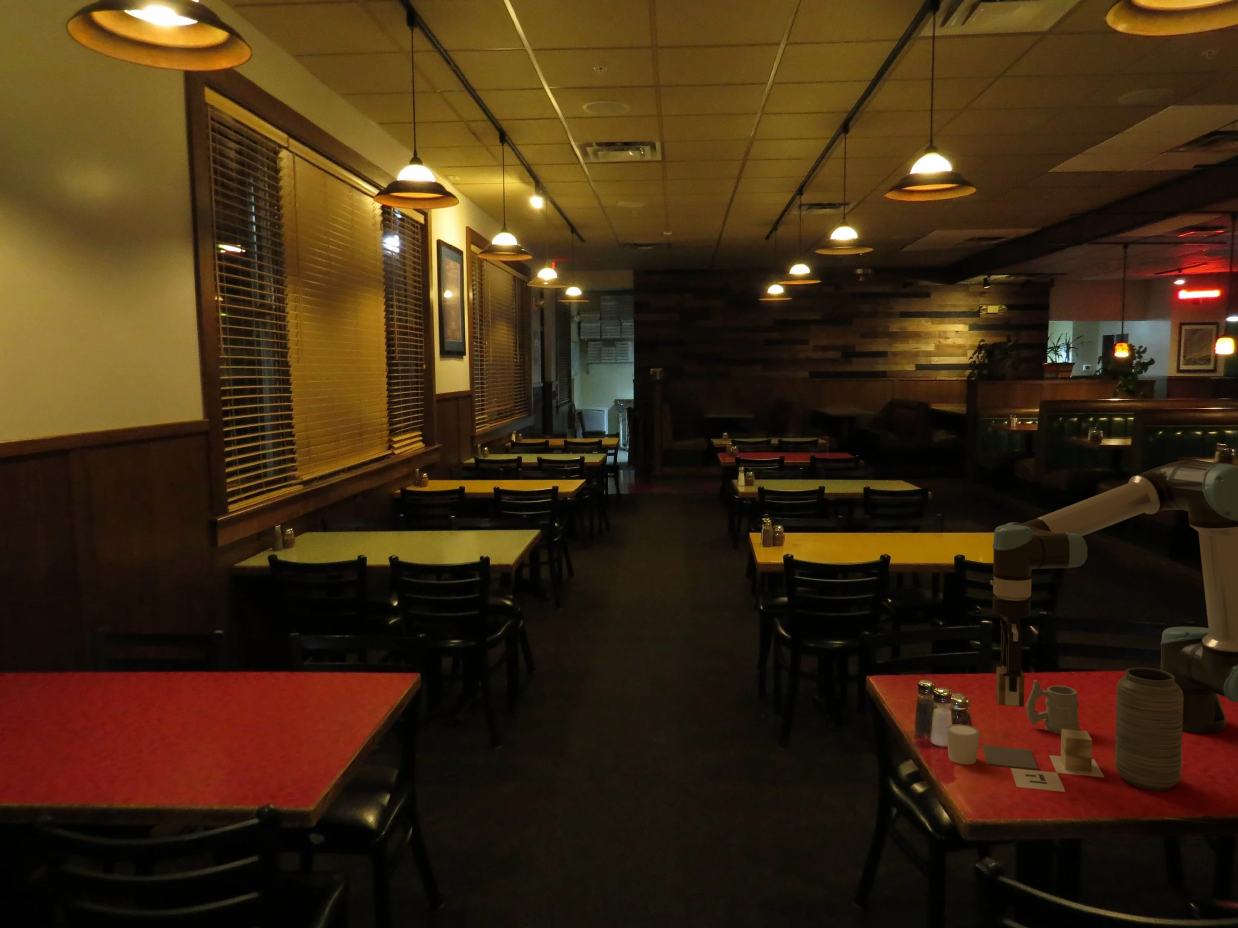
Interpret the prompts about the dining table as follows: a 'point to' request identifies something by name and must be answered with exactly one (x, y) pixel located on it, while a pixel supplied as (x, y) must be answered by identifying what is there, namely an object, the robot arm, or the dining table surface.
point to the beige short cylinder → (962, 743)
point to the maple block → (1076, 750)
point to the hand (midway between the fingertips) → (1010, 699)
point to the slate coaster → (1010, 757)
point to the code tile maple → (1060, 769)
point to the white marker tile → (1037, 779)
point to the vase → (1149, 729)
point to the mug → (1055, 708)
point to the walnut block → (1001, 687)
